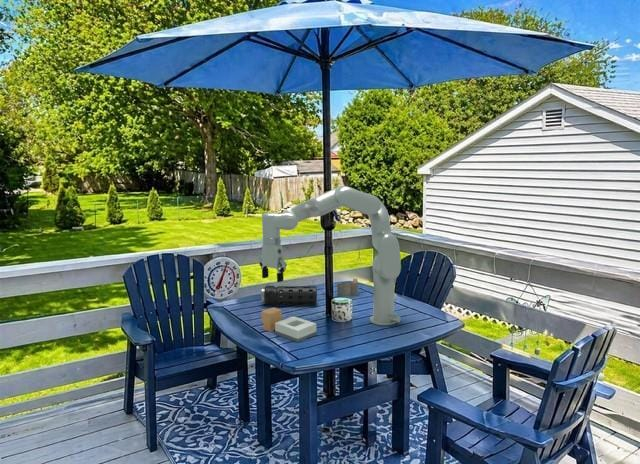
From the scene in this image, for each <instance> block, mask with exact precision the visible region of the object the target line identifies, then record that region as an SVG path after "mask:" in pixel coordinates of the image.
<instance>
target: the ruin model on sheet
mask: <svg viewBox="0 0 640 464" xmlns="http://www.w3.org/2000/svg"><path fill="white" fill-rule="evenodd" d="M336 295H337V297H338V298H339V297H358V296H359V282H358V278H353V279H352V281H348V282H346V281H345V282H343V281H342V282H340V283H339V282H336Z"/></svg>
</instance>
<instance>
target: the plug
mask: <svg viewBox="0 0 640 464" xmlns="http://www.w3.org/2000/svg"><path fill="white" fill-rule="evenodd" d="M282 311H283V310H282V309H280V308H277V307H270V308H267V309H265V310H261V323H263V330H265V331H268V332H274V331H275V323H276V322H279V321H282V320H283V312H282Z"/></svg>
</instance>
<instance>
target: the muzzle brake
mask: <svg viewBox="0 0 640 464" xmlns="http://www.w3.org/2000/svg"><path fill="white" fill-rule="evenodd" d="M317 287H318V286H317V285H285V286H284V285H278V286H275V285H265V286H261V289H260V290H261V291H260V298H261V299H260V300H261V303H262V304H265V305H273V306H275V305H280V306H282V305H292V306H295V305H297V306H316V305H317V303H318V302H317V301H318V289H317Z"/></svg>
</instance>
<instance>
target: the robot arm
mask: <svg viewBox="0 0 640 464" xmlns="http://www.w3.org/2000/svg"><path fill="white" fill-rule="evenodd" d="M341 207H345V208H347V209H350V210H352V211H355V212H358V213H362V214H364V215H367V216H368V217H369V222H370V229H371V230H370V231H371V241H372V247H373V248H374V249H375V250H376V251H377V255H375V256H374V258H373V259H372V263H371V264H372V266H371V267H372V276H373V277H372V279H373V287H372V288H373V291H372V292H373V293H372V294H373V297H372V298H373V299H372V307H373V309H372V315H371V316H370V317H369V322H370V323H371V324H373V325H377V326H378V325H379V326H392V325H396V324H397V323H400V322H401V319H402V318H401V316H399V315H397V312H396V311H395V290H396V289H395V284H396V283H395V282H396V281H395V279H397V278H398V277H399V275H400V273H401V270H402V264H401V263H402V262H401V261H402V260H401V249H400V248H401V247H400V243H399V240H398V238H397V237H396V236H395V235H394V234H392V229H391V222H390V216H389V212H388V210H387V208H386V206H385V205H384V203H383V202H382V201H381V200H380V199H379V197H377V196H376V195H373V194H371V193H367V192H365V191H364V192H363V191H360V190H357V189H355V188H353V187H350V186H347V185H340V186H336V187H334V188H333V189H330V190H328V191H326V192H324V193H322V194H319V195H317V196H315V197H313V198H310V199H308V200H306V201H303V202H301V203H298V204H295V205H293V206H292V207H289V208H287V209H285V210H283V211H282V212H281V213H279V212H275V211H274V212H272V211H271V212H264V213H263V214H262V216H261V224H262V227H261V228H262V230H261V231H262V244H261V245H262V247H261V256H260V257H258V259H257V260H258V262H259V266H260V270H261V277H262V279H266V278H269V268H273V269H276V272H277V273H276V282H277V283H281V282H284V273H285V270H286V268H287V265H288V264H287V262H286V261H285V257H284V248H283V246H282V244H281V242H282V240H281V230H285V231H291V230H294V229H296V227H297V226H298V224H299V223H300V222H302V221H304V220H307V219H309V218H314V217H322V216H325V215H327V214H329V213H331V212H333V211H335V210H337V209H340V208H341Z"/></svg>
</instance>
